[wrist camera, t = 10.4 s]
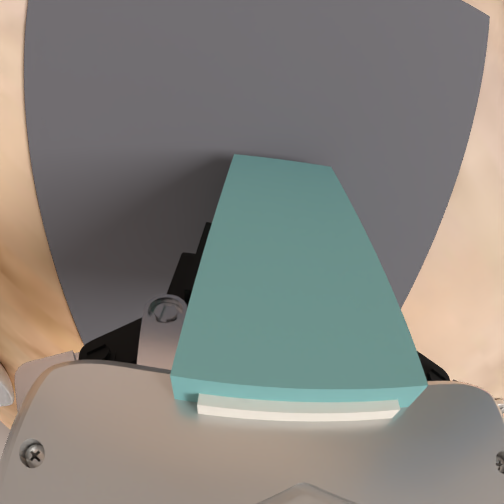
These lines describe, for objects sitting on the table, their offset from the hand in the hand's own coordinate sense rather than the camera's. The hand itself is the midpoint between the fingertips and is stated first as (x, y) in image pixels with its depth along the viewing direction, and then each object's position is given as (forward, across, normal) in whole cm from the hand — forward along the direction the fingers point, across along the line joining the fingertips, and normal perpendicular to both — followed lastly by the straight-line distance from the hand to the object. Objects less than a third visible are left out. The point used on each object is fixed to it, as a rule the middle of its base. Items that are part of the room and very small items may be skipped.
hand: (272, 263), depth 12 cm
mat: (+4, +2, 0) cm, 4 cm away
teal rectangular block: (+2, 0, 0) cm, 2 cm away
